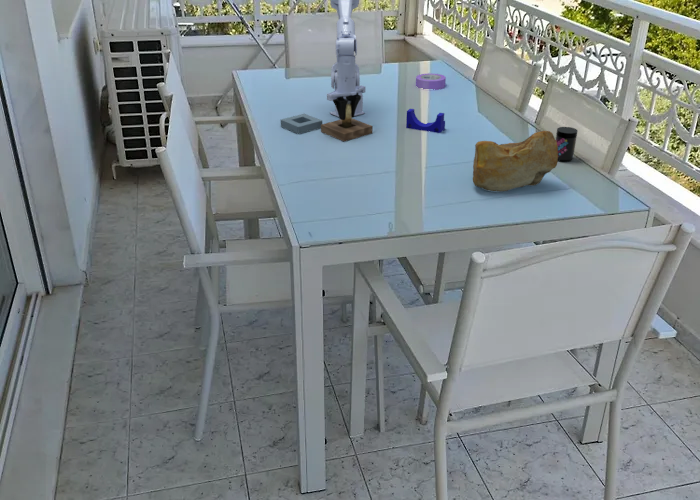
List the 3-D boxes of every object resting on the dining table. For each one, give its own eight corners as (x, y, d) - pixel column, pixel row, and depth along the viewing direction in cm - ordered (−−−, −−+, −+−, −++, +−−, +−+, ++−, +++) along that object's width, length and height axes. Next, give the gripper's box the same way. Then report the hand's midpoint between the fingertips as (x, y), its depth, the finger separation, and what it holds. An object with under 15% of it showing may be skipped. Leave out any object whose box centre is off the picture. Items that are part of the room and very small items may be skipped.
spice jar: (347, 124, 232) (347, 98, 227) (353, 127, 230) (353, 100, 225) (339, 126, 230) (339, 99, 226) (346, 129, 228) (345, 102, 223)
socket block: (348, 124, 238) (348, 117, 237) (372, 133, 230) (372, 126, 229) (321, 132, 231) (320, 124, 230) (344, 141, 223) (344, 134, 222)
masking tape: (412, 89, 276) (413, 79, 274) (418, 81, 286) (419, 72, 284) (442, 91, 273) (442, 81, 271) (447, 83, 283) (448, 74, 281)
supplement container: (551, 155, 212) (555, 126, 208) (571, 155, 212) (575, 127, 207) (554, 162, 207) (558, 132, 203) (574, 163, 207) (579, 133, 202)
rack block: (304, 120, 242) (304, 113, 240) (322, 127, 235) (322, 120, 234) (280, 126, 236) (280, 119, 235) (298, 134, 229) (298, 126, 228)
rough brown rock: (535, 170, 204) (538, 119, 198) (561, 188, 189) (565, 134, 183) (458, 178, 201) (459, 127, 195) (478, 197, 186) (479, 142, 180)
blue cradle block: (444, 129, 234) (445, 112, 231) (440, 133, 230) (441, 115, 227) (411, 124, 238) (411, 107, 235) (406, 128, 235) (406, 111, 232)
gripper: (336, 83, 215) (337, 125, 221) (371, 75, 223) (371, 116, 230) (322, 78, 220) (323, 120, 226) (357, 70, 228) (357, 111, 234)
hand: (346, 118), depth 228 cm, fingers closed on spice jar, 3 cm apart
